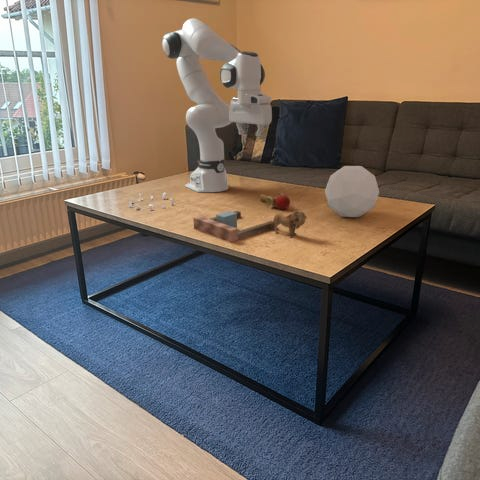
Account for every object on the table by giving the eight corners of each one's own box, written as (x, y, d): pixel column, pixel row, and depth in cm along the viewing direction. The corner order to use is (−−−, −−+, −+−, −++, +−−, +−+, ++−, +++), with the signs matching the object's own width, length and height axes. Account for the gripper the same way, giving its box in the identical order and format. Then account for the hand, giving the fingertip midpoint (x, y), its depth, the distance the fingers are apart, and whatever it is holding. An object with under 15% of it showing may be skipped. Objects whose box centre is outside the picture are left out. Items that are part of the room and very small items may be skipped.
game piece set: (157, 196, 209) (156, 188, 208) (184, 204, 195) (183, 195, 194) (119, 205, 196) (118, 196, 195) (145, 214, 183) (144, 205, 181)
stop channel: (194, 228, 164) (193, 217, 163) (237, 215, 177) (237, 205, 176) (231, 242, 150) (230, 230, 149) (275, 227, 164) (275, 216, 162)
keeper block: (216, 231, 161) (216, 214, 159) (229, 227, 165) (229, 211, 163) (224, 233, 158) (223, 217, 156) (237, 229, 162) (236, 213, 160)
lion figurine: (308, 235, 155) (309, 210, 152) (300, 240, 151) (301, 214, 148) (271, 227, 163) (271, 203, 160) (263, 232, 159) (263, 207, 156)
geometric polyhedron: (342, 236, 173) (316, 199, 164) (340, 204, 188) (316, 168, 178) (390, 216, 165) (365, 176, 155) (384, 184, 179) (361, 146, 170)
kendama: (253, 205, 195) (277, 210, 180) (254, 190, 194) (278, 194, 179) (269, 206, 199) (293, 210, 184) (270, 191, 198) (295, 194, 183)
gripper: (224, 97, 177) (225, 134, 182) (262, 99, 163) (262, 138, 168) (236, 96, 181) (237, 132, 186) (274, 98, 167) (274, 136, 172)
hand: (249, 135), depth 177 cm, fingers open, 8 cm apart
